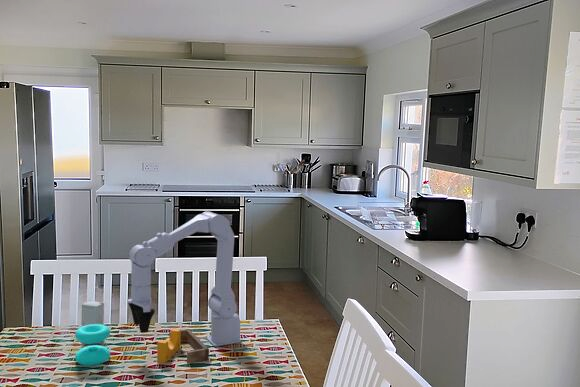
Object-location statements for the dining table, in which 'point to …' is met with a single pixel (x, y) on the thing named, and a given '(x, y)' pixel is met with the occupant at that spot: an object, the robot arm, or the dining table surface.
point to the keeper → (200, 349)
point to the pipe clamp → (168, 346)
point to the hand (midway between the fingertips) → (141, 327)
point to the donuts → (94, 352)
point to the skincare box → (92, 313)
